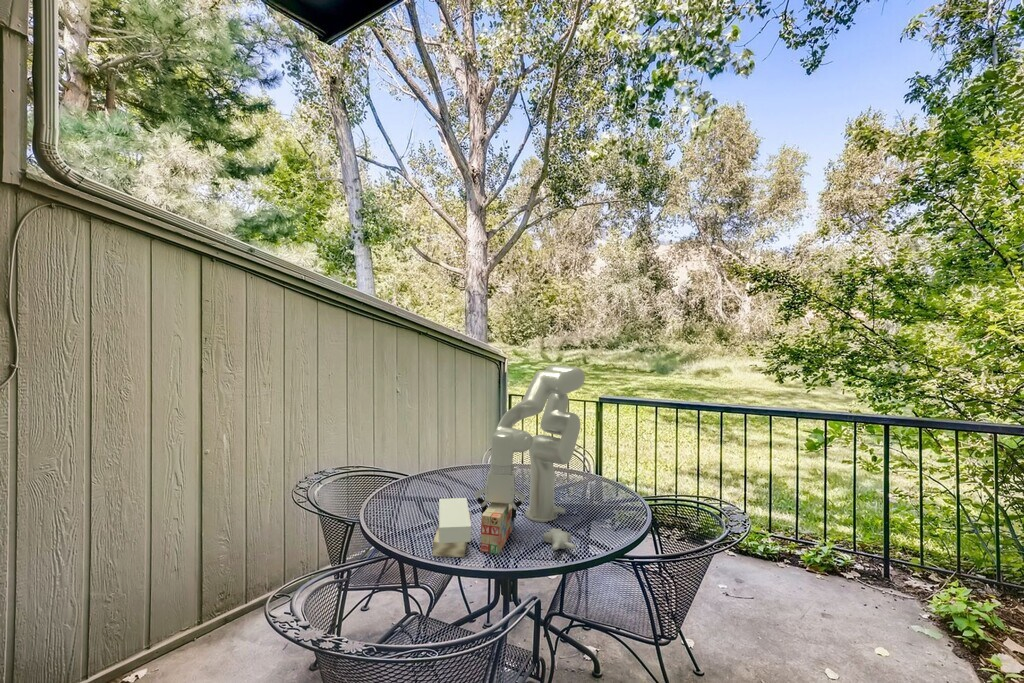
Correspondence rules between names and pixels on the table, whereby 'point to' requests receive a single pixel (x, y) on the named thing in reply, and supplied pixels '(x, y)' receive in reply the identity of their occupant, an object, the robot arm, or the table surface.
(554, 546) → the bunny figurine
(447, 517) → the upper slab
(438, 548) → the lower slab
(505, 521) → the stack of blocks
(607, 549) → the table surface
